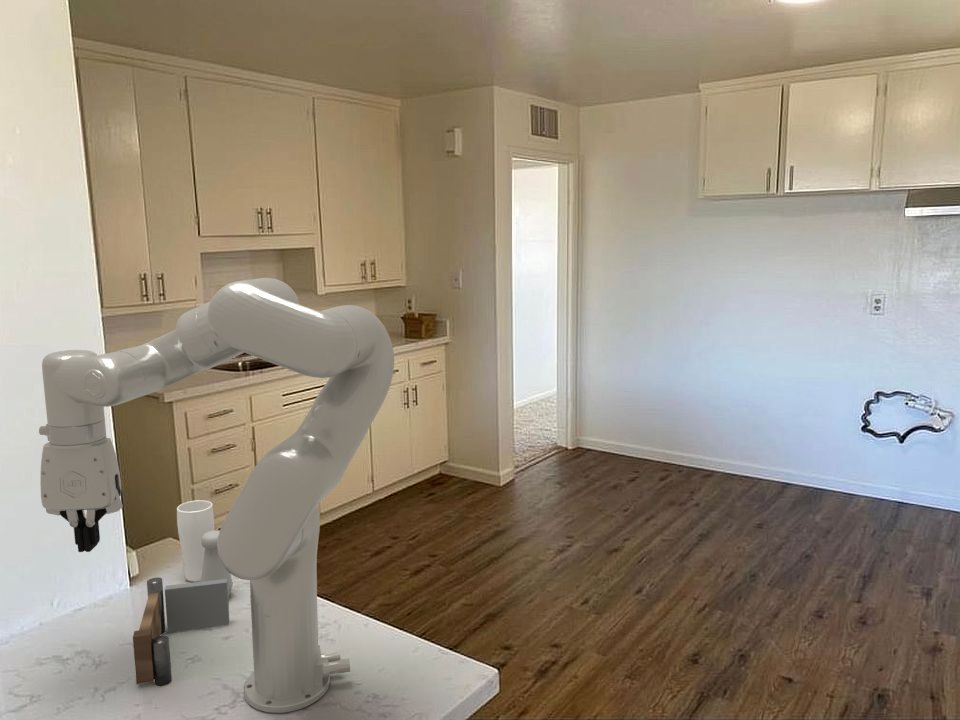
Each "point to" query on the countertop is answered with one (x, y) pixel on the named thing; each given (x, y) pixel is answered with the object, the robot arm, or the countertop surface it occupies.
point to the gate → (147, 640)
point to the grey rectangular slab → (197, 605)
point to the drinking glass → (194, 535)
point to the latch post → (161, 660)
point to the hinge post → (157, 587)
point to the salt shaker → (213, 560)
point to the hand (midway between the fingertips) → (88, 548)
